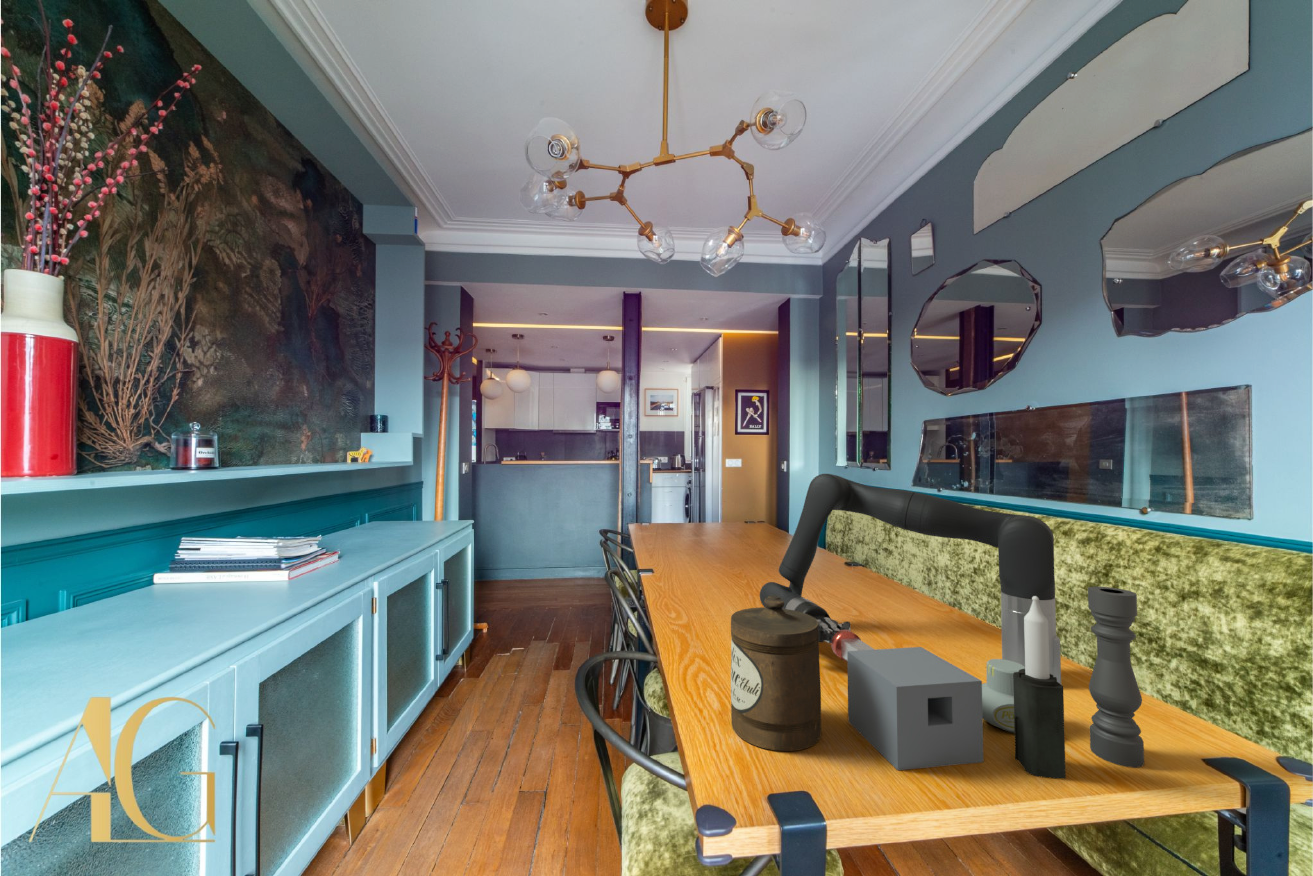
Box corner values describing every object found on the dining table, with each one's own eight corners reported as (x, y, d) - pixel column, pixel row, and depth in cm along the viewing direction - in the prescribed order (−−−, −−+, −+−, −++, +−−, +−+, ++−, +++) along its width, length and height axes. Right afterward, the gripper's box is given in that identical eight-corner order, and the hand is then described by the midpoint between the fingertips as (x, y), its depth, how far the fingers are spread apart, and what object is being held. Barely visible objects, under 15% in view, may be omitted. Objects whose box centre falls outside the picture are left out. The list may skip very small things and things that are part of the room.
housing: (848, 721, 89) (847, 651, 90) (921, 715, 91) (920, 646, 92) (897, 770, 75) (896, 686, 76) (983, 762, 77) (981, 680, 78)
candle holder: (1099, 762, 78) (1095, 593, 78) (1083, 740, 83) (1079, 584, 84) (1152, 771, 75) (1147, 598, 76) (1132, 749, 81) (1127, 588, 82)
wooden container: (726, 705, 95) (726, 585, 96) (807, 707, 94) (807, 585, 95) (736, 752, 80) (736, 608, 81) (833, 753, 80) (831, 609, 80)
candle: (1069, 780, 73) (1064, 601, 74) (1028, 775, 74) (1024, 599, 75) (1049, 759, 78) (1045, 592, 79) (1012, 755, 79) (1008, 590, 80)
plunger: (831, 658, 104) (831, 630, 104) (857, 656, 105) (856, 628, 105) (890, 705, 84) (890, 671, 84) (922, 703, 85) (921, 668, 85)
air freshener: (980, 731, 86) (978, 671, 86) (964, 708, 94) (963, 652, 94) (1056, 741, 83) (1055, 678, 84) (1034, 716, 91) (1032, 659, 91)
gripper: (779, 602, 121) (813, 626, 104) (832, 600, 123) (874, 623, 105) (780, 634, 120) (813, 664, 103) (833, 632, 122) (874, 660, 105)
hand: (844, 643), depth 104 cm, fingers closed
